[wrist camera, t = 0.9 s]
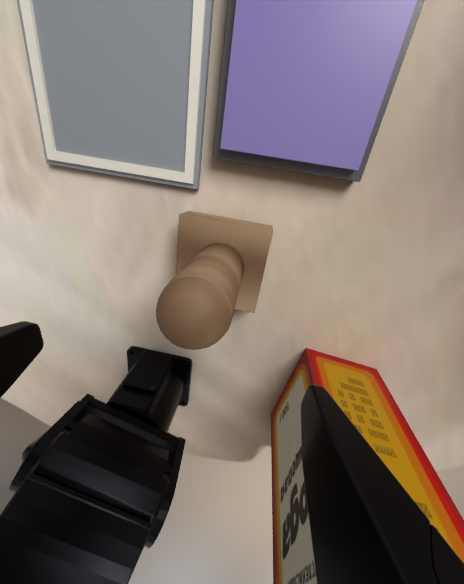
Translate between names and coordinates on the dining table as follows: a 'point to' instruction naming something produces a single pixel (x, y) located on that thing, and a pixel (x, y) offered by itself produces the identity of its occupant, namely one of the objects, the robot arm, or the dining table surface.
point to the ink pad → (309, 81)
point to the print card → (121, 84)
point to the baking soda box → (381, 437)
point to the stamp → (212, 278)
